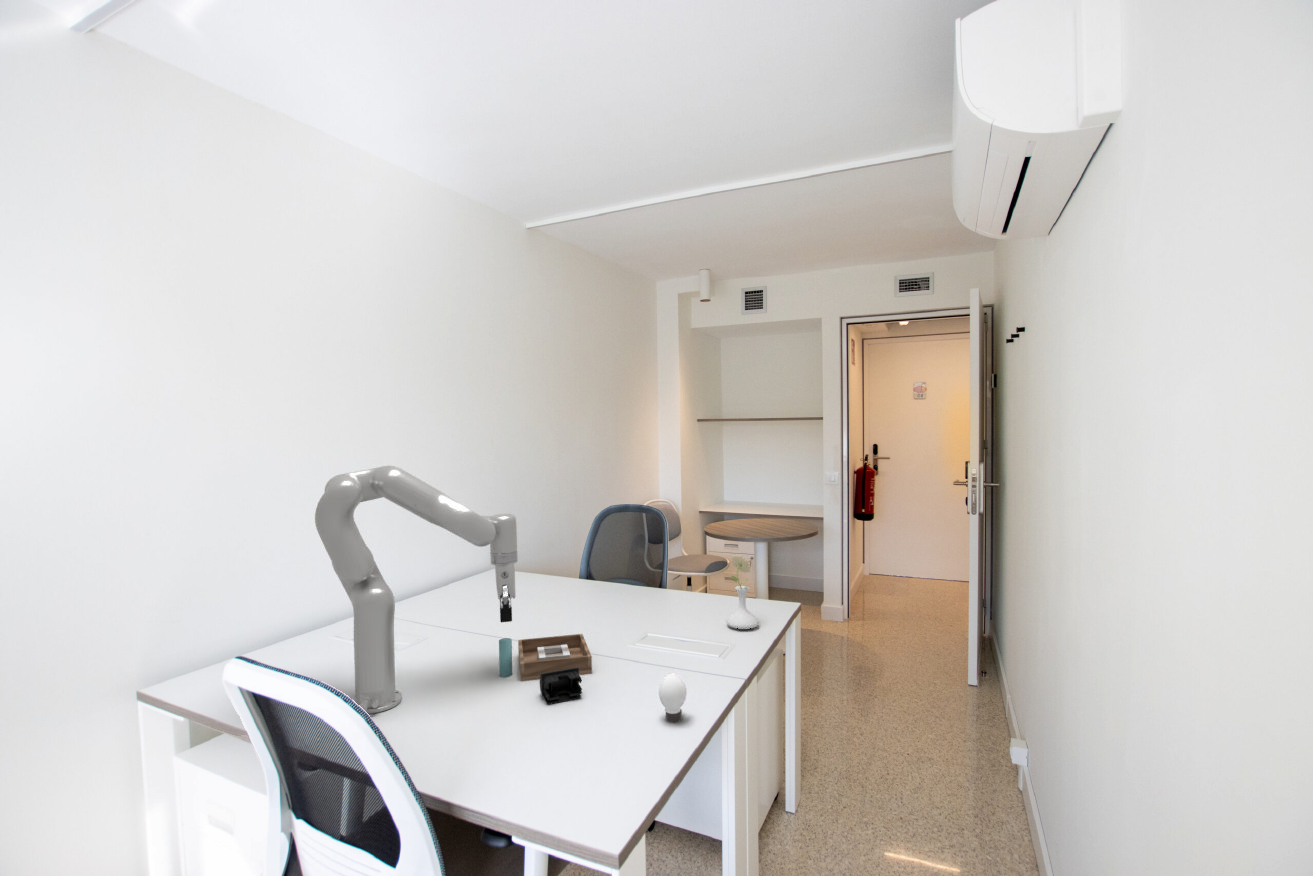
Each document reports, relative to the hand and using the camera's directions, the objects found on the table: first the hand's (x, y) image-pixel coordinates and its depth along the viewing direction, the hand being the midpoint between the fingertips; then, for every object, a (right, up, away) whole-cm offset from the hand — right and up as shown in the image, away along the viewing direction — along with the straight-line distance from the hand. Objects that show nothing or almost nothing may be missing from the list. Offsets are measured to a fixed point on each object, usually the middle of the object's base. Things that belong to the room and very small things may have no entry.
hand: (506, 616), depth 180 cm
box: (+12, -17, +8) cm, 22 cm away
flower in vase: (+73, -15, +41) cm, 85 cm away
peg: (0, -17, 0) cm, 17 cm away
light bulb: (+47, -17, -28) cm, 58 cm away
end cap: (+18, -17, -15) cm, 29 cm away
